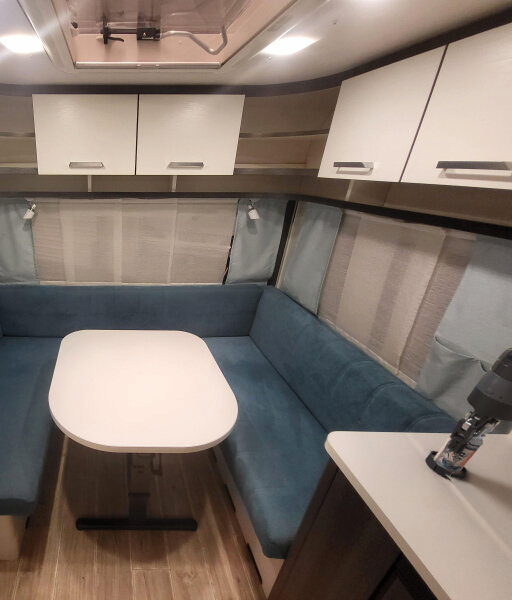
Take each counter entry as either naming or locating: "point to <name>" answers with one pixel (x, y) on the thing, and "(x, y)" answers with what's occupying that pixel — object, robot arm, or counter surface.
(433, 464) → the black ring
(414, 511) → the counter surface
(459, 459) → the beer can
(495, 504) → the counter surface
